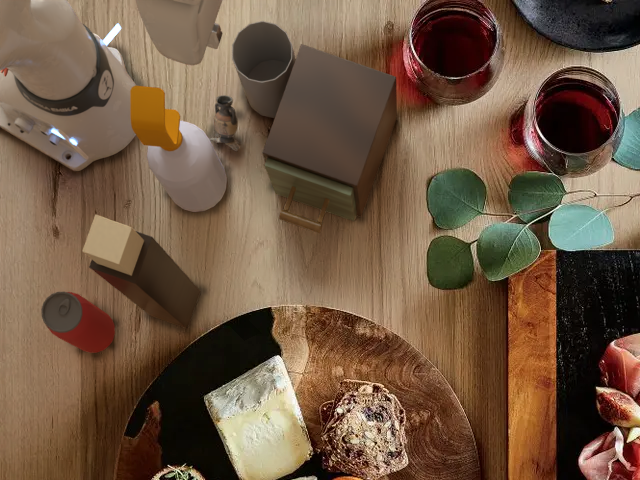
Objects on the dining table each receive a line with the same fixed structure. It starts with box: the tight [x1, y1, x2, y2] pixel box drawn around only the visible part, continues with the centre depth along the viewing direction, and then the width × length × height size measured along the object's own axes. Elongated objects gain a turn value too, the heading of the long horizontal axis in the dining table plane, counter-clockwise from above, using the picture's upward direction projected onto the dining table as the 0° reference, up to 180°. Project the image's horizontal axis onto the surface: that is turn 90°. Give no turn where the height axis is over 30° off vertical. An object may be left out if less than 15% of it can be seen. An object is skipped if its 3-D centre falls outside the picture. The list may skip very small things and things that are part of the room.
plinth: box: [88, 230, 202, 330], centre depth 110 cm, size 6×6×24 cm
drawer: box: [264, 158, 358, 234], centre depth 116 cm, size 19×12×10 cm, turn 160°
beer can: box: [40, 291, 116, 354], centre depth 116 cm, size 7×7×12 cm
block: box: [82, 214, 144, 276], centre depth 96 cm, size 4×4×4 cm
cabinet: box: [262, 43, 398, 218], centre depth 116 cm, size 16×14×12 cm
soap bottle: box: [130, 85, 228, 213], centre depth 110 cm, size 9×9×25 cm
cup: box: [231, 20, 296, 119], centre depth 117 cm, size 8×8×10 cm
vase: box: [209, 94, 250, 153], centre depth 119 cm, size 5×5×6 cm
